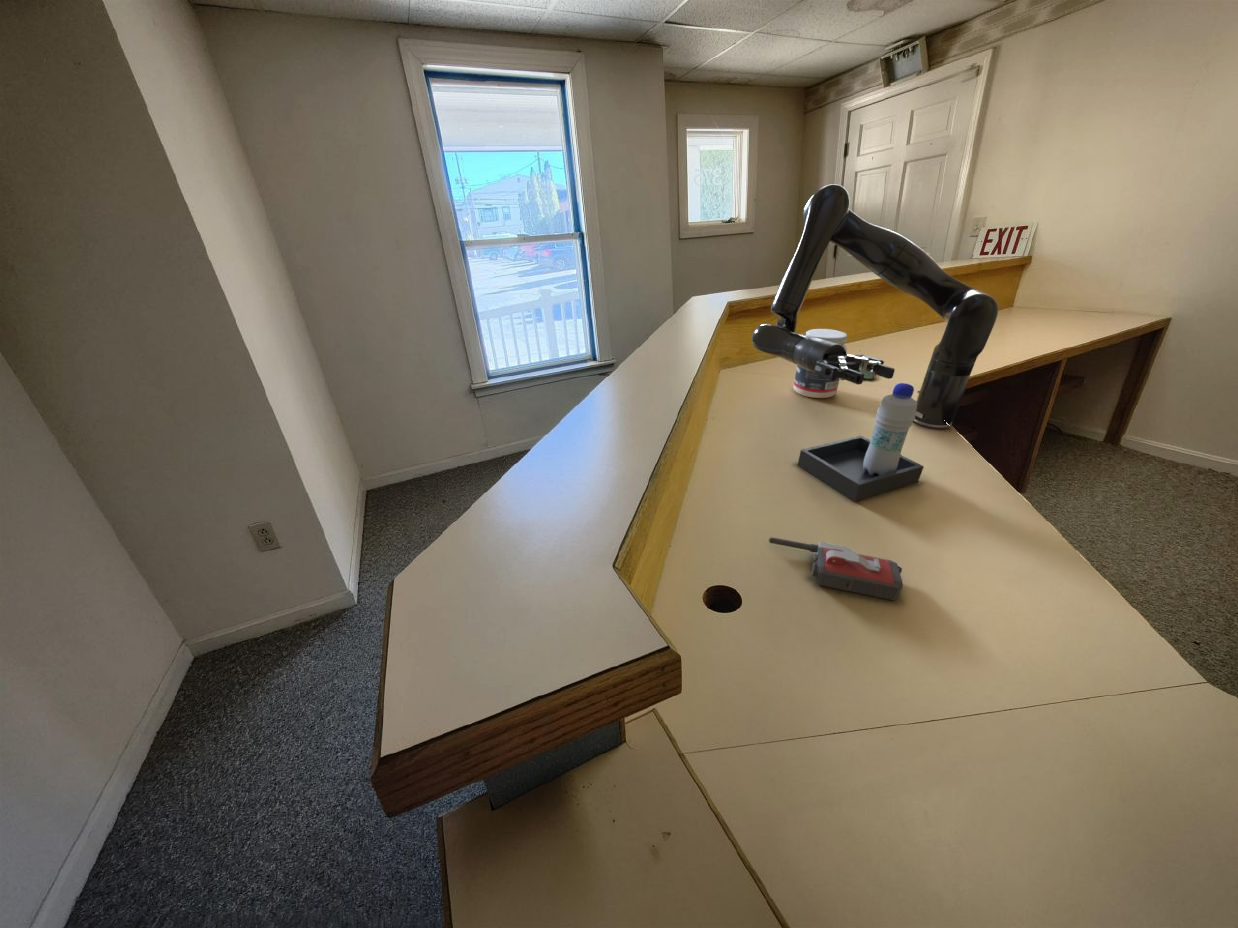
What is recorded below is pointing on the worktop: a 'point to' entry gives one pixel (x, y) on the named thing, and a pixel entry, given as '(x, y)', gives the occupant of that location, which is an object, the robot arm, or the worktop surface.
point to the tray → (855, 469)
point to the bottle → (890, 430)
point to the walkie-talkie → (851, 569)
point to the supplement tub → (813, 382)
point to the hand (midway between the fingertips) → (877, 376)
